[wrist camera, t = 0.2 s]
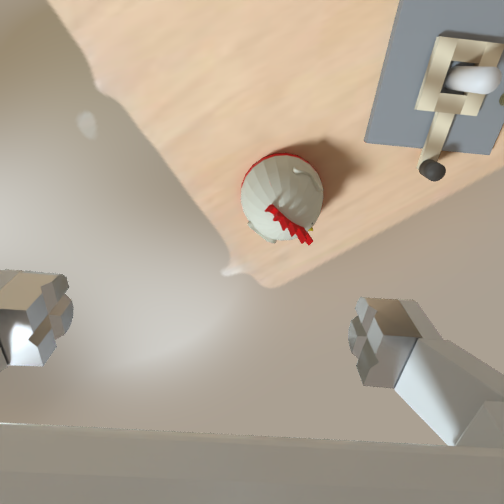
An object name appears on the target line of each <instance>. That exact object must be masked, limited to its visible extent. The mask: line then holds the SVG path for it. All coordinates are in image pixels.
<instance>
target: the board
mask: <svg viewBox="0 0 504 504" xmlns="http://www.w3.org/2000/svg"><path fill="white" fill-rule="evenodd" d="M439 36H442V37H450V38H458V39H467V40H475V41H484V42H492V43H501V44H504V0H400V1H399V5H398V9H397V13H396V17H395V21H394V24H393V28H392V32H391V36H390V40H389V44H388V48H387V52H386V56H385V60H384V64H383V68H382V72H381V76H380V79H379V83H378V87H377V91H376V95H375V99H374V103H373V107H372V111H371V115H370V119H369V123H368V127H367V130H366V134H365V138H364V141H365V142H366V143H372V144H382V145H392V146H402V147H412V148H423V147H424V144H425V141H426V138H427V135H428V132H429V129H430V126H431V123H432V121H433V118H434V115H435V112H432V111H423V110H416V109H414V108H415V104H416V101H417V98H418V95H419V92H420V88H421V85H422V82H423V79H424V76H425V73H426V69H427V66H428V63H429V60H430V57H431V53H432V50H433V47H434V44H435V41H436V37H439ZM474 65H475V63H467V62H458V61H451V62H450V65H449V68H448V71H447V74H446V77H445V80H444V83H443V86H442V89H441V92H440V93H449V94H458V95H464V92H471V93H478V94H485V97H484V99H483V102H482V104H481V107H480V109H479V112H478V114H477V116H470V115H460V114H455V115H454V118H453V120H452V123H451V126H450V128H449V131H448V134H447V137H446V139H445V142H444V145H443V147H442V150H443V151H453V152H463V153H473V154H483V155H490V153H491V150H492V148H493V146H494V144H495V141H496V139H497V137H498V135H499V132H500V130H501V128H502V126H503V123H504V106H501V105H500V103H499V99H500V97H501V95H502V94H503V93H504V50H503V52H502V54H501V57H500V59H499V62H498V64H497V67H483V66H474Z"/></svg>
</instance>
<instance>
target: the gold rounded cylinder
mask: <svg viewBox="0 0 504 504" xmlns="http://www.w3.org/2000/svg"><path fill="white" fill-rule="evenodd" d="M499 103H500V105H501V106H504V93H503V94H502V95H501V97H500V99H499Z"/></svg>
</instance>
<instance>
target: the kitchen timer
mask: <svg viewBox="0 0 504 504" xmlns="http://www.w3.org/2000/svg"><path fill="white" fill-rule="evenodd" d="M322 202H323V187H322V183H321V180H320V178H319V176H318V173H317V172H316V170H315V169H314V168H313V167H312V165H311V164H310V163H309V162H308V161H306V160H305V159H303V158H301V157H299V156H297V155H293V154H289V153H276V154H272V155H269V156H266V157H263V158H262V159H260V160H259V161H258V162H256V163H255V164H253V165H252V167H251V168H250V169H249V171H248V172H247V173H246V175H245V177H244V180H243V183H242V187H241V203H242V207H243V211H244V213H245V215H246V217H247V219H248V220H249V222H248V225H249V227H250V228H251V229H252V230H253V231H255V232H256V233H257V234H259V235H260V236H261V237H262V238H263V239H265V240H266V241H268V242H270V243H276V240H292V239H295V238H298V239H299V240H300V242H301V243H302V244H303V243H304V242H306V243H307V244H308V245H310V244H311V243H312V242H313V240H312V238H311V237H310V235H309V234H308V231H313V228H312V226H313V225H314V224H315V222H316V220H317V218H318V217H319V215H320V212H321V207H322Z"/></svg>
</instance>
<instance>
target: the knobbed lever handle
mask: <svg viewBox="0 0 504 504" xmlns="http://www.w3.org/2000/svg"><path fill="white" fill-rule="evenodd" d="M503 50H504V44H501V43H492V42H484V41H475V40H467V39H458V38H450V37H442V36H439V37H436V41H435V44H434V47H433V50H432V53H431V57H430V60H429V63H428V66H427V69H426V73H425V76H424V79H423V82H422V85H421V88H420V92H419V95H418V98H417V101H416V104H415V108H414V109H416V110H423V111H432V112H435V115H434V118H433V121H432V123H431V126H430V129H429V132H428V135H427V138H426V141H425V144H424V147H423V150H422V153H421V155H420V158H419V161H418V164H417V167H416V168H417V169H418V170H419V172H420V174H422V175H423V176H425V177H426V178H428V179H429V180H431V181H438V180H440V179H442V178H443V176H444V175H445V172H446V169H445V167H444V166H443V165H441V164H440V163H438V162H437V161H438V158H439V155H440V153H441V150H442V147H443V145H444V142H445V139H446V137H447V134H448V131H449V128H450V126H451V123H452V120H453V118H454V115H455V114H460V115H470V116H477V114H478V112H479V109H480V107H481V104H482V102H483V99H484V97H485V94H478V93H471V92H464V95H458V94H449V93H440V92H441V89H442V86H443V83H444V80H445V77H446V74H447V71H448V68H449V65H450V62H451V61H458V62H467V63H475V65H474V66H483V67H497V64H498V62H499V59H500V57H501V54H502V52H503Z"/></svg>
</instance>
